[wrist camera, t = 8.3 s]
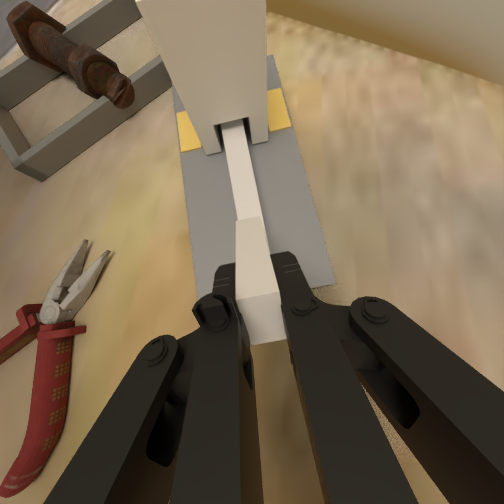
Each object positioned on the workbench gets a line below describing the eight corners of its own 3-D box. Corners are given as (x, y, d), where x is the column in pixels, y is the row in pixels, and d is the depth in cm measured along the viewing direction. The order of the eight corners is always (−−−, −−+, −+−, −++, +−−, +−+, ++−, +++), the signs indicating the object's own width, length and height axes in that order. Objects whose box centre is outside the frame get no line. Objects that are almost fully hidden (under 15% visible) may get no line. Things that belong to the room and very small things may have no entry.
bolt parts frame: (-2, 110, 26) (-30, 91, 23) (145, 8, 27) (132, -21, 25) (41, 181, 23) (14, 168, 20) (203, 62, 24) (196, 36, 22)
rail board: (332, 283, 17) (382, 276, 10) (202, 308, 18) (151, 320, 10) (272, 64, 23) (274, -52, 15) (175, 88, 24) (128, -11, 16)
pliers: (152, 268, 20) (134, 264, 17) (42, 483, 17) (1, 517, 14) (67, 228, 22) (40, 220, 19) (-45, 414, 19) (-95, 434, 16)
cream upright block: (268, 140, 20) (265, -34, 9) (206, 154, 20) (135, 2, 9) (256, 94, 21) (243, -107, 10) (199, 108, 21) (129, -73, 11)
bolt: (141, 127, 25) (66, 74, 27) (153, 83, 23) (71, 30, 25) (91, 107, 20) (3, 44, 22) (101, 48, 18) (3, -15, 20)
